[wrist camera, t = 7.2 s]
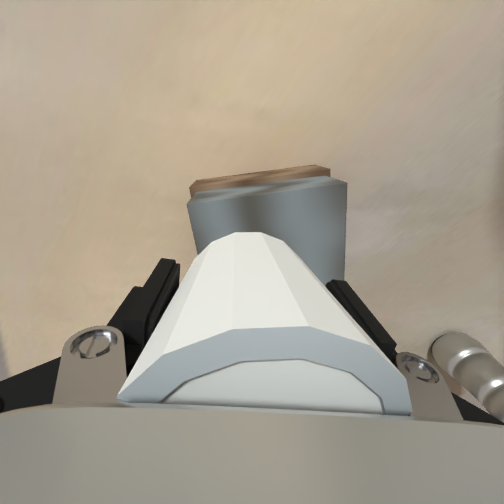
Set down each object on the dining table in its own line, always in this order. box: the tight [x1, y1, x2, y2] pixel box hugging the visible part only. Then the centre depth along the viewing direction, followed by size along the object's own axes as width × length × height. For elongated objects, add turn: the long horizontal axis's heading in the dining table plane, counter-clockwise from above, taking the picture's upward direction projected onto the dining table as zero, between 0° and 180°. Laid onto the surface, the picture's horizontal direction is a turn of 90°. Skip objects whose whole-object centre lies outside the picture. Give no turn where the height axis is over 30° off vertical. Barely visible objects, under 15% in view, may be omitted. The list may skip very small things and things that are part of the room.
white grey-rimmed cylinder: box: [117, 232, 413, 416], centre depth 9 cm, size 7×7×7 cm
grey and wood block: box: [187, 165, 347, 286], centre depth 26 cm, size 13×13×10 cm
